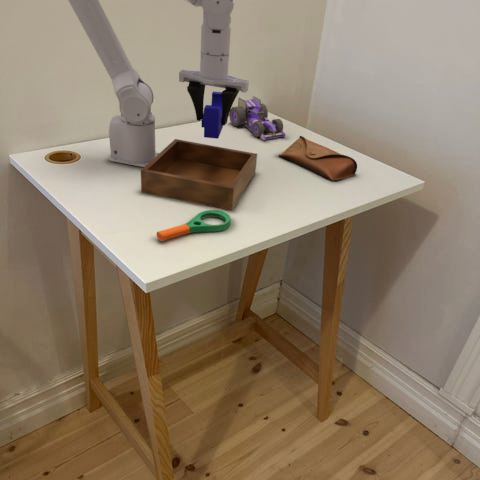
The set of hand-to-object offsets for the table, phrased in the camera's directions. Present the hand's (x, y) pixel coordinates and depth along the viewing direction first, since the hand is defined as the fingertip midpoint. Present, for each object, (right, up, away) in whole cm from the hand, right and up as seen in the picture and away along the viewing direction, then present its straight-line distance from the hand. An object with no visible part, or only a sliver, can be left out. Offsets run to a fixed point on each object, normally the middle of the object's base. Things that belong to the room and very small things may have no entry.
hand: (211, 121), depth 112 cm
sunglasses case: (+24, -7, +10) cm, 27 cm away
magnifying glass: (-2, -27, -18) cm, 32 cm away
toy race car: (+11, +7, +26) cm, 29 cm away
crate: (-2, -14, -2) cm, 14 cm away
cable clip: (0, -1, +1) cm, 2 cm away
